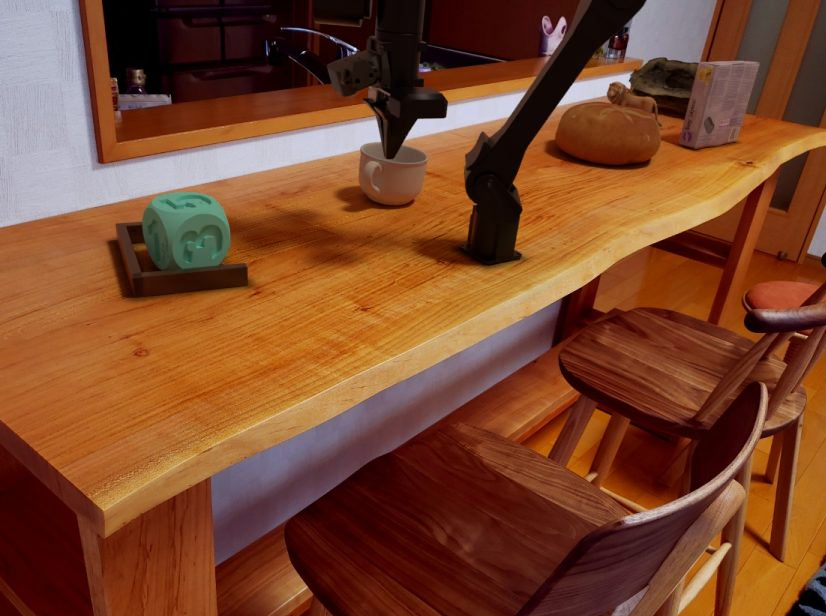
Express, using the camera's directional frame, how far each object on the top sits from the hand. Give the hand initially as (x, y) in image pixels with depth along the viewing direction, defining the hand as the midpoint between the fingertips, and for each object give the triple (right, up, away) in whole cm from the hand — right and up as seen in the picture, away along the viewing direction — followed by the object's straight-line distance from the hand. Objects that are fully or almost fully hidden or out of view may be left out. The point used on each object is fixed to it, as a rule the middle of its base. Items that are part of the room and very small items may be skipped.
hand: (389, 158), depth 99 cm
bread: (+45, +16, +57) cm, 75 cm away
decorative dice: (-25, -14, -4) cm, 29 cm away
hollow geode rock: (+76, +38, +99) cm, 131 cm away
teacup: (-1, -1, +22) cm, 22 cm away
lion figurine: (+59, +31, +85) cm, 108 cm away
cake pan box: (+74, +23, +73) cm, 106 cm away
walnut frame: (-26, -14, -4) cm, 30 cm away
